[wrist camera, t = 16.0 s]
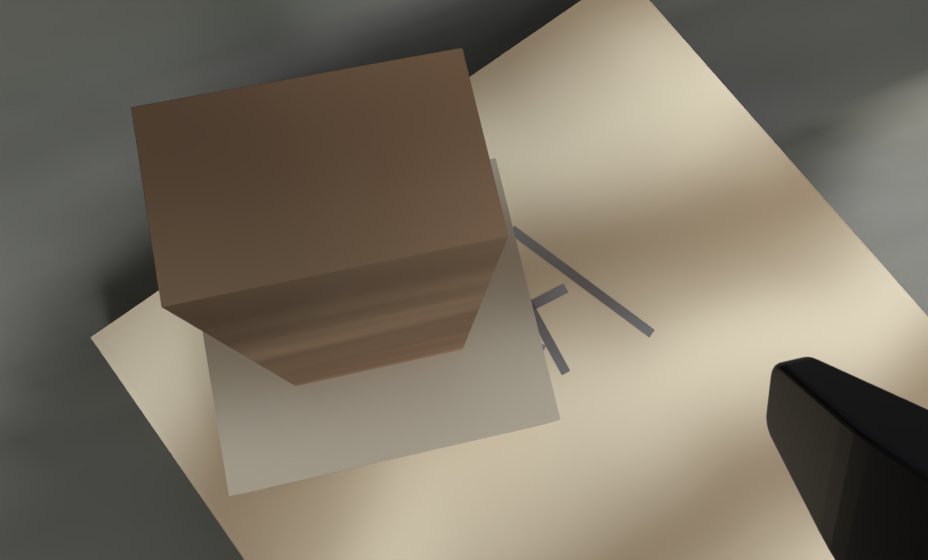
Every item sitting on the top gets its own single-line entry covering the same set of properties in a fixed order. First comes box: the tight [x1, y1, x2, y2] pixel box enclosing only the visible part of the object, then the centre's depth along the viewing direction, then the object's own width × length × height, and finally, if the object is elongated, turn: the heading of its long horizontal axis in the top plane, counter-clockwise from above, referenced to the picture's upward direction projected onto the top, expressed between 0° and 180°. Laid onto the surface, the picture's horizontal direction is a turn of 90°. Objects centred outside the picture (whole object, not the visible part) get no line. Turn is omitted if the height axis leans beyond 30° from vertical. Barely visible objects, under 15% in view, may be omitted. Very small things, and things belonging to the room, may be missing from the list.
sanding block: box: [131, 48, 561, 496], centre depth 14 cm, size 6×7×12 cm
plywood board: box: [91, 0, 928, 560], centre depth 20 cm, size 26×17×2 cm, turn 38°
